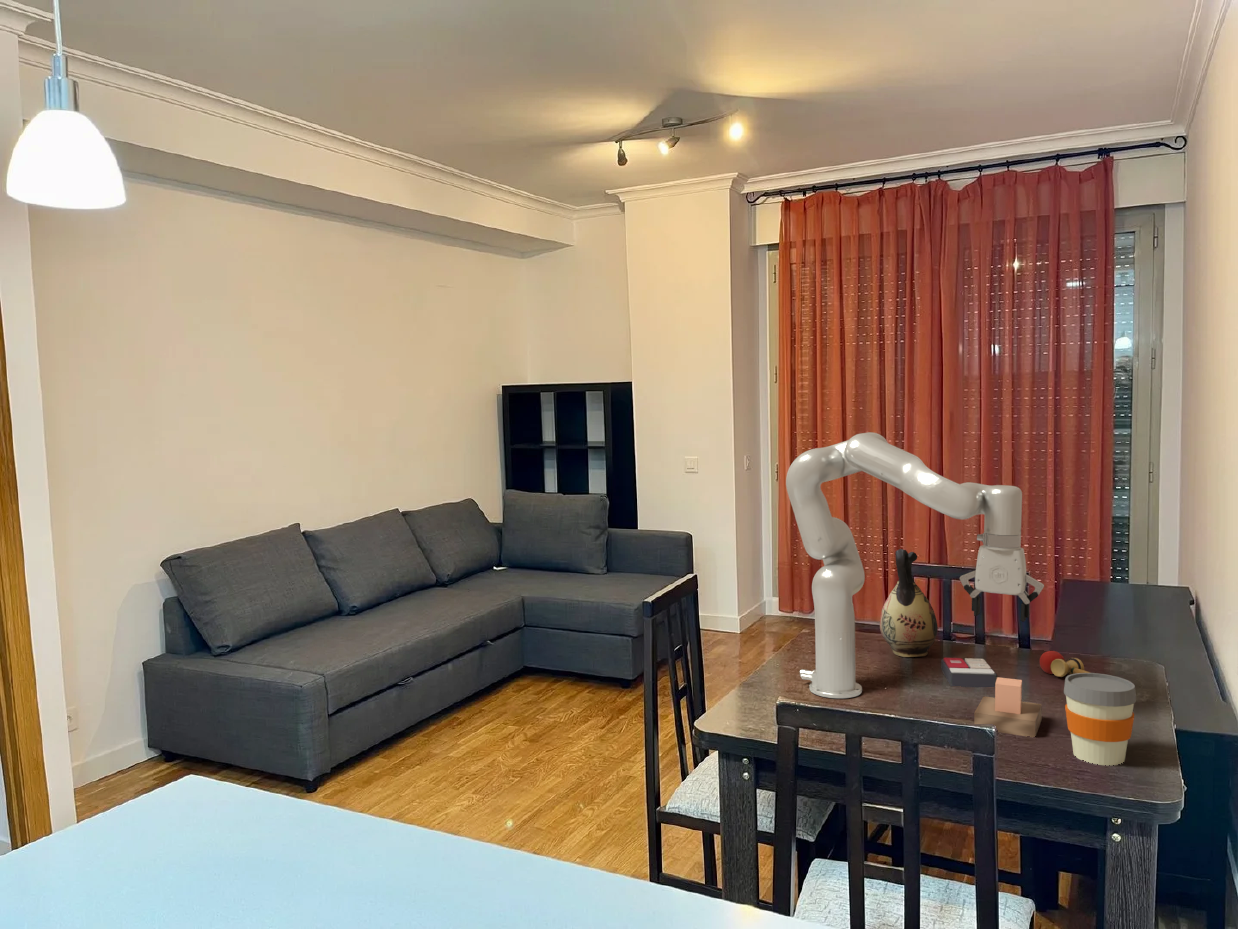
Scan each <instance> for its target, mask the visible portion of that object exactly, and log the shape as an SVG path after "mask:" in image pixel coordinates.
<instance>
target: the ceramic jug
mask: <svg viewBox="0 0 1238 929" xmlns="http://www.w3.org/2000/svg"><path fill="white" fill-rule="evenodd" d="M894 554H895V557H894V558H895V565H896V571H897V576H898V580H897V583H896V584H895V586H894V588H893V589H892V590H891V591H890V592H889V594H888V597H887V599H886V600H885V601H884V604H883V607H882V609H881V612H880V617H879V629H880V630H879V631H880V634H881V635H882V638H883V639H884V641H885V642H886V643H887V644H888V646H889V647H890V648H891V651H892V653H893V654H894V655H896V656H899V657H903V658H914V657H915V658H917V657H926V656H927V655H929V651H928V650H929V649H930V648H931V646H932V645H933V644H934V642H935V640H936V638H937V635H938V629H939V626H938V620H937V616H936V614H935V611H934V608H933V606H932V605H931V603H930V600H929V599H928V598H927V596H926V595H925V594H924V592H923V590H921V588H920V586H919V585H918V584H917V583H916V582H915V579H914V578H913V574H912V572H913V571H912V566H913V563H914V562H915V561H917V560H918V555H917V553H915V551H910V552H908V550H907V549H902V548H899V549H897V550H895V553H894Z"/></svg>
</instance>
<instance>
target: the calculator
mask: <svg viewBox="0 0 1238 929" xmlns="http://www.w3.org/2000/svg"><path fill="white" fill-rule="evenodd" d="M940 664H941V667H940V669H941V672H942V673H943V675H944V677H945V678H946V681H947V683H948V682H949V683H948V685H949V684H950V685H949V686H950V687H952V686H961V687H960V688H979V687H995V683H996V680H997V677H998V674H997V673H996V671H994V669H993V668H992V667H991V666H990V665H989V664H988V663H987V661H986V660H985V659H984V658H973V657H972V658H970V657H968V658H967V657H965V658H964V659H963V658H962V657H943V659H941V662H940Z"/></svg>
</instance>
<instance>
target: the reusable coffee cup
mask: <svg viewBox="0 0 1238 929" xmlns="http://www.w3.org/2000/svg"><path fill="white" fill-rule="evenodd" d="M1063 686H1064V688H1063V694H1064V695H1065V698H1066V699H1065V700H1066V703H1065V705H1064V708H1065V716H1066V717H1065V718H1066V725H1067V730H1068V731H1069V732H1070V737H1071V745H1072V751H1073V752H1072V754H1073V756H1074V757H1075V756H1076V757H1075V758H1077V759H1078V760H1080V761H1082V760H1084V761H1083V762H1085V761H1086V762H1085V763H1088V762H1089V763H1088V764H1092V763H1093V764H1092V765H1097V764H1098V766H1105V765H1106V766H1107V767H1108V766H1109V765H1110V767H1111V766H1113V765H1114V766H1119V765H1118V764H1120V765H1122V764H1124V763H1125V761H1126V754H1127V747H1128V744H1129V743H1128V742H1129V739H1131V738H1132V732H1133V726H1134V721H1135V713H1134V711H1133V710H1134V706H1135V703H1136V702H1137V693H1136V686H1135V683H1133V682H1132V681H1131V680H1128V679H1125V678H1123V677H1119V676H1115V675H1110V674H1105V673H1098V672H1096V673H1095V672H1090V673H1076V674H1071V675H1068V674H1067V676H1065V679H1064V685H1063ZM1123 762H1124V763H1123ZM1121 763H1122V764H1121Z"/></svg>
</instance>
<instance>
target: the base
mask: <svg viewBox="0 0 1238 929" xmlns="http://www.w3.org/2000/svg"><path fill="white" fill-rule="evenodd" d="M1042 710H1043V704H1042V703H1037V702H1036V703H1035V702H1029V701H1022V707H1021V714H1015V713H1007V712H1000V711H995V697H991V696H982V698H981V700H980V702H979V704H978V706H977V707H976V709H975V710H974V713H973V714H974V715H973V716H974V717H973V721H974V724H993V725H995V726H996V728H997V730H998V732H997V733H1000V734H1001V733H1002V734H1007V735H1014V736H1020V737H1021V736H1022V737H1027V736H1030V737H1029V738H1033V737H1035V736H1037V734H1038V731H1039V728H1040V726H1041V722H1042V720H1043V719H1042V718H1043V715H1042V712H1043V711H1042ZM974 724H973V725H974ZM1035 738H1036V737H1035Z"/></svg>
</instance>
